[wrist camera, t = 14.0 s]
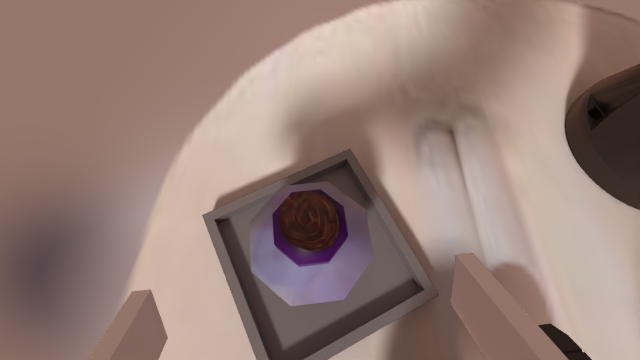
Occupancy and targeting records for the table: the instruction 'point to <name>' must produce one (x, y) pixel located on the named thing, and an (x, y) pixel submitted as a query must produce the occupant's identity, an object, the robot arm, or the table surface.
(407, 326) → the table surface
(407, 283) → the charcoal tray
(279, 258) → the potion bottle
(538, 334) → the robot arm
